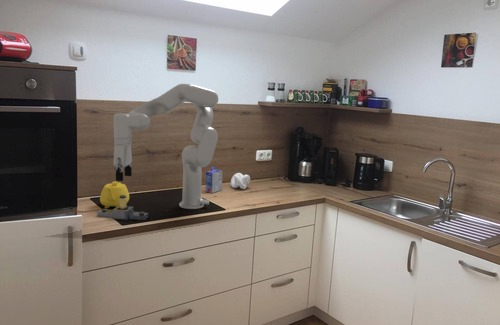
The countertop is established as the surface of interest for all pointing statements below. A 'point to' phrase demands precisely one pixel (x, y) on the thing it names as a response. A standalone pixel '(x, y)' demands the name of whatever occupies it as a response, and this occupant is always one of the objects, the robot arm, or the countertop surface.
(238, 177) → the white twisted lump
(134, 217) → the chain ends
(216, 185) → the ink cartridge box
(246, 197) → the countertop surface
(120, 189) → the teapot
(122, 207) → the pin
